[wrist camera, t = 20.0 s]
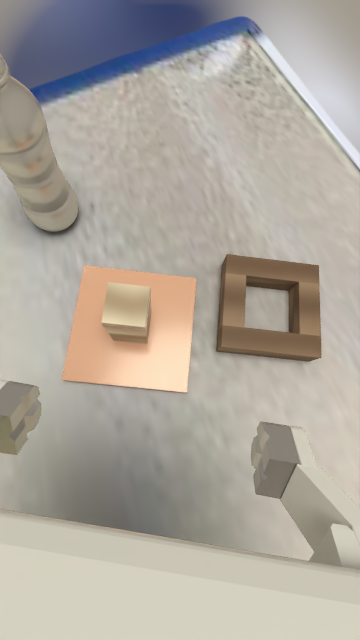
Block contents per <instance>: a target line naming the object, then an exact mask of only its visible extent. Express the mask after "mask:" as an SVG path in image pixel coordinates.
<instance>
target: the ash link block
mask: <svg viewBox="0 0 360 640" xmlns="http://www.w3.org/2000/svg"><path fill="white" fill-rule="evenodd" d="M151 312H152V311H151V288H150V287H147V286H138V285H130V284H121V283H112V282H108V286H107V292H106V298H105V304H104V310H103V316H102V322H101V323H102V326H103V327H105V329H106V330H107V332H108V333H109V335H110V336H111V338H112V339H113V340H114V341H123V342H133V343H142V344H148V336H149V328H150V320H151Z"/></svg>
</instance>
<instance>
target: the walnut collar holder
mask: <svg viewBox="0 0 360 640" xmlns="http://www.w3.org/2000/svg"><path fill="white" fill-rule="evenodd" d="M246 286H254V287H262V288H271V289H279V290H288V291H289V333H288V332H279V331H270V330H261V329H252V328H244V321H245V296H246ZM217 351H218V352H228V353H237V354H246V355H256V356H265V357H274V358H284V359H293V360H302V361H312V360H315V359H318V358H321V325H320V292H319V265H311V264H303V263H295V262H287V261H278V260H270V259H262V258H253V257H245V256H237V255H229V254H227V255H226V257H225V259H224V262H223V264H222V272H221V288H220V304H219V319H218V335H217Z"/></svg>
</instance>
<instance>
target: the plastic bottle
mask: <svg viewBox="0 0 360 640" xmlns="http://www.w3.org/2000/svg"><path fill="white" fill-rule="evenodd" d="M0 167H1V169H2V170H3V171H4V173H5V174H6V175H7V177H8V178H9V179H10V181H11V182H12V184H13V186H14V188H15V189H16V191H17V193H18V195H19V197H20V200H21V203H22V206H23V208H24V211H25V213H26V215H27V217H28V218H29V219H30V220H31V221H32V222H33V223H34V224H35V225H37V226H38V227H39V228H41V229H43V230H46V231H53V232H54V231H61V230H64V229H66V228H68V227H69V226H70V225H71V224H72V223H73V222H74V221H75V219H76V218H77V215H78V201H77V197H76V194H75V192H74V191H73V189H72V187H71V186H70V184H69V183H68V182H67V180H66V179H65V177H64V175H63V173H62V171H61V170H60V168H59V166H58V164H57V161H56V158H55V155H54V152H53V149H52V146H51V143H50V138H49V134H48V130H47V125H46V121H45V117H44V114H43V111H42V108H41V105H40V104H39V102H38V101H37V99H36V98H35V97H34V95H33V94H32V93H31V92H30V91H29V90H28V88H26V87H25V86H24V85H23V84H21V83H20V82H19V81H17V80H16V79H14V78H13V77H12V76H10V73H9V69H8V66H7V64H6V62H5V60H4V59H3V58H2V56H1V54H0Z"/></svg>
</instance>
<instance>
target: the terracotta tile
mask: <svg viewBox="0 0 360 640" xmlns="http://www.w3.org/2000/svg"><path fill="white" fill-rule="evenodd" d="M196 281H197V278H189V277H180V276H172V275H163V274H155V273H146V272H138V271H129V270H121V269H112V268H103V267H95V266H86V265H84V269H83V274H82V279H81V285H80V290H79V295H78V300H77V305H76V310H75V315H74V320H73V325H72V330H71V335H70V340H69V345H68V351H67V356H66V361H65V366H64V371H63V376H62V380H64V381H74V382H84V383H94V384H104V385H113V386H123V387H133V388H143V389H153V390H163V391H173V392H183V393H187V384H188V373H189V361H190V350H191V338H192V327H193V315H194V304H195V292H196ZM108 282H112V283H121V284H130V285H138V286H147V287H150V288H151V311H152V312H151V320H150V328H149V336H148V344H142V343H133V342H123V341H114V340H113V339H112V338H111V336H110V335H109V333H108V332H107V330H106V329H105V327H103V326H102V323H101V322H102V316H103V310H104V304H105V298H106V292H107V286H108Z"/></svg>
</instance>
